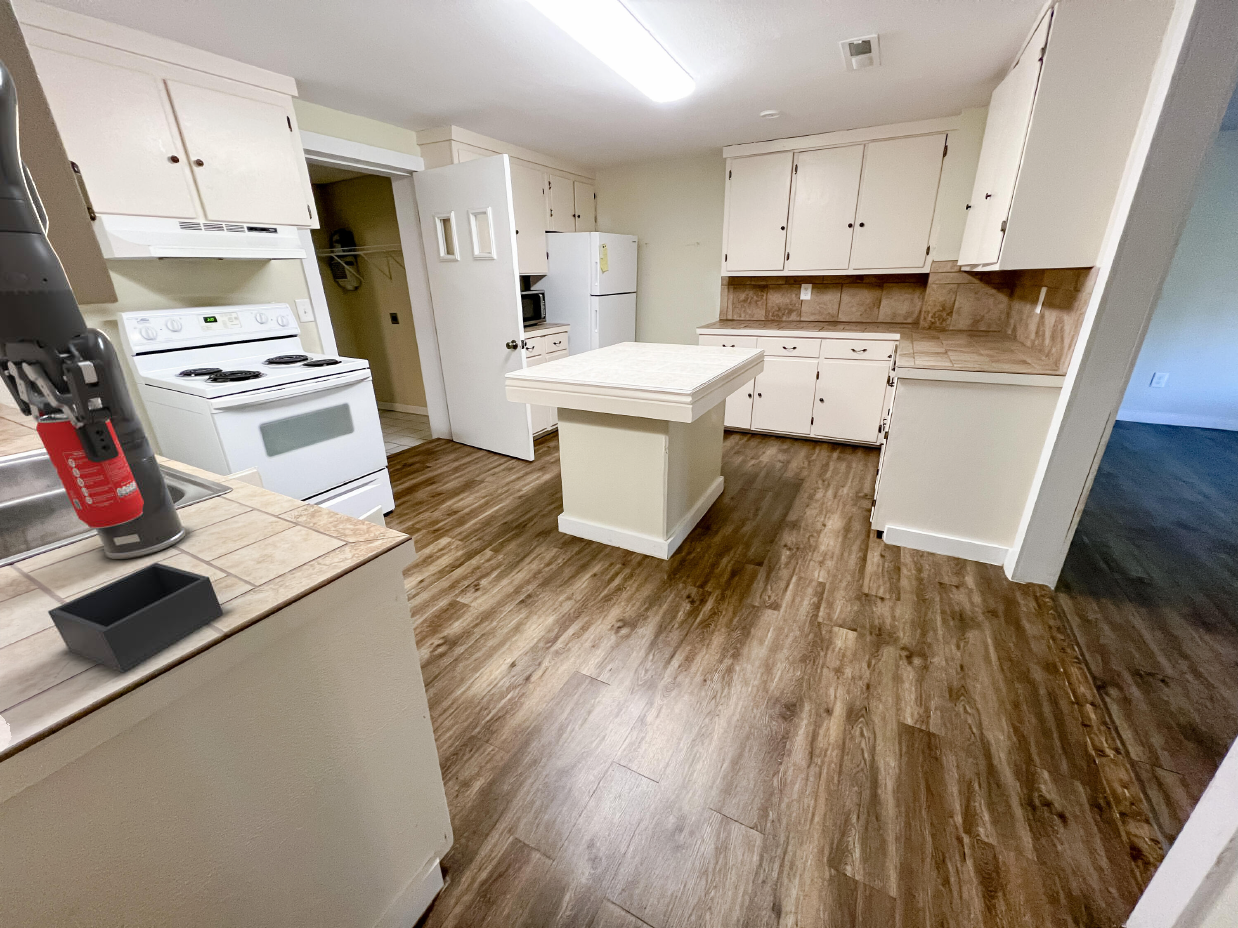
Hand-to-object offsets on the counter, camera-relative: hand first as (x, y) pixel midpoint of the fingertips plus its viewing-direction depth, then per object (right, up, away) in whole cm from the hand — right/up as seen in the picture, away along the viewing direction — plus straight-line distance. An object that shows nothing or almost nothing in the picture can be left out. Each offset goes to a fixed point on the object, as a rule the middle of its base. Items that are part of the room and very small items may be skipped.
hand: (88, 456), depth 51 cm
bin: (0, -21, +7) cm, 22 cm away
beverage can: (0, -7, +3) cm, 8 cm away
